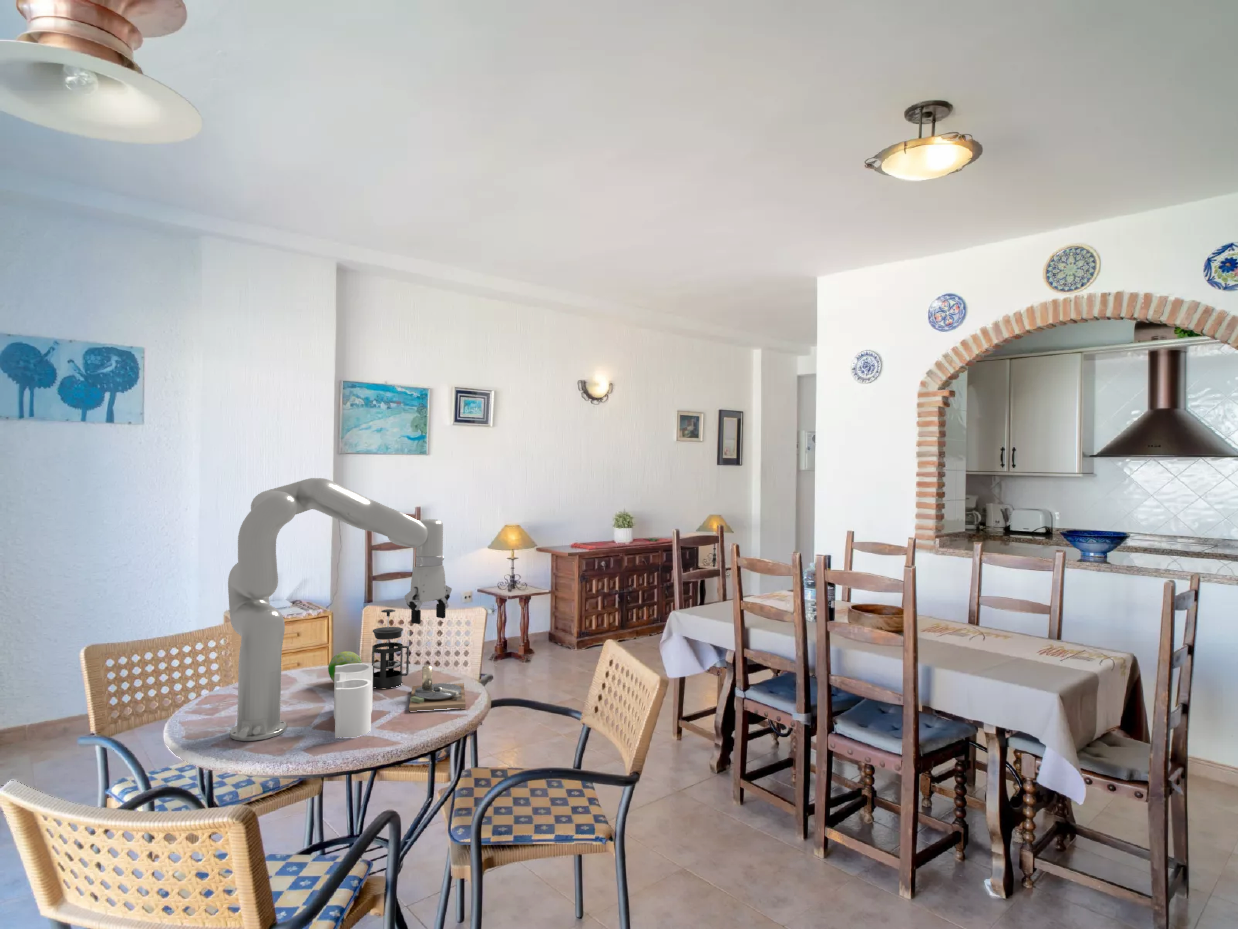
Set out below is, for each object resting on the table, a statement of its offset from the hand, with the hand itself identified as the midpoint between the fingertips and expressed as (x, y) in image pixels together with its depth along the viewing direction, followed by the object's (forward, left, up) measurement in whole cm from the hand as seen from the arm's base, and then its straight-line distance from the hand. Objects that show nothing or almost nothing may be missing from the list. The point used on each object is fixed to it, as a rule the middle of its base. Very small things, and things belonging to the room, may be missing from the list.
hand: (428, 620), depth 205 cm
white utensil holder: (-17, +18, -23) cm, 34 cm away
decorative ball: (+18, +25, -22) cm, 38 cm away
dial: (-3, -3, -21) cm, 21 cm away
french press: (+15, +12, -22) cm, 29 cm away
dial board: (-3, -3, -22) cm, 23 cm away
